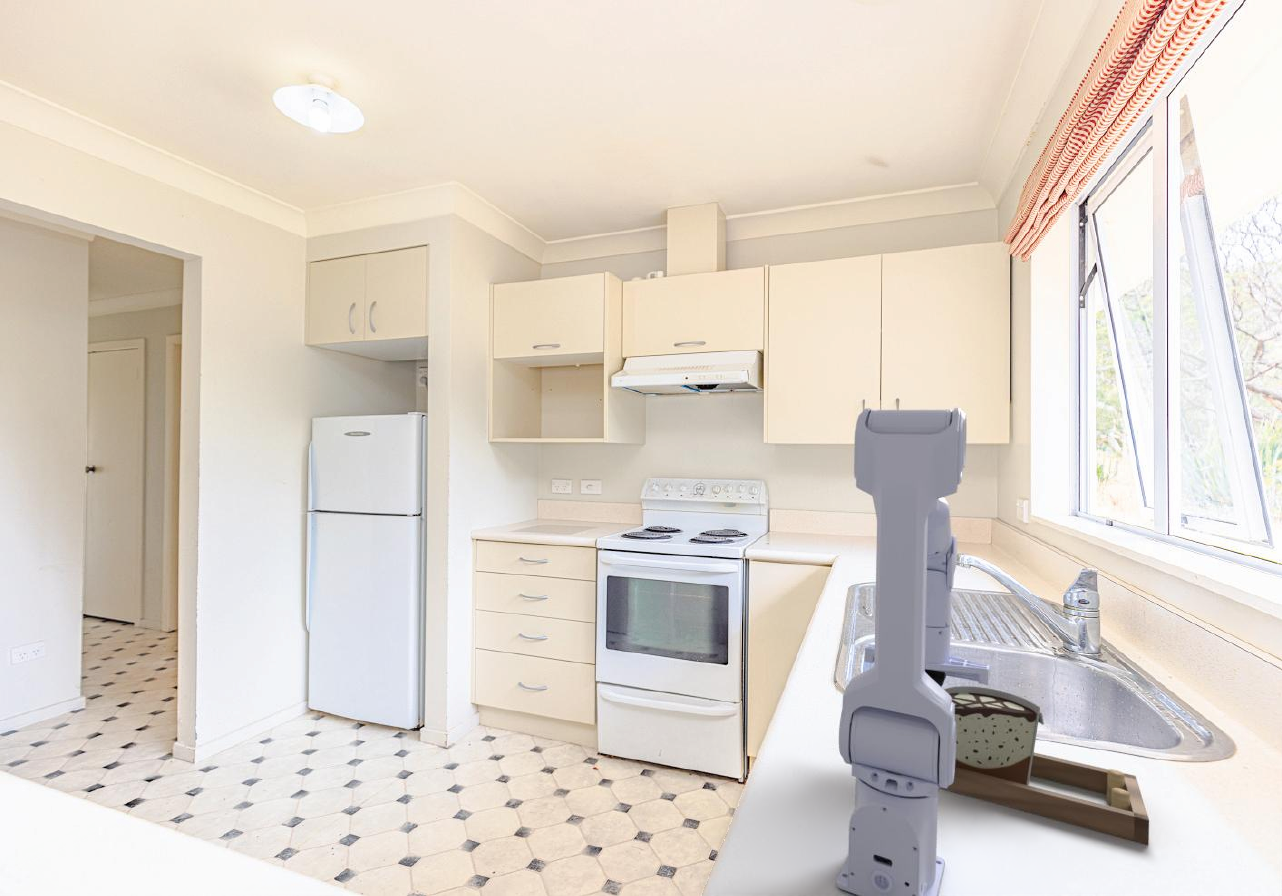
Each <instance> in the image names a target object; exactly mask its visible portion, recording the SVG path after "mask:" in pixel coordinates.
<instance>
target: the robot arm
mask: <svg viewBox="0 0 1282 896" xmlns="http://www.w3.org/2000/svg"><path fill="white" fill-rule="evenodd" d="M855 424H856V425H855V431H854V453H853V455H854V456H853V457H854V459H853V460H854V462H853V465H854V466H853V473H854V474H853V475H854V478H855V486H856V489H858V490H861V491H862V492H865V494H868V495H869V496H871V497H872V501H873V505H874V511H875V515H876V516H875V517H876V551H875V552H876V559H875V566H876V567H875V609H874V610H875V611H874V612H875V613H874V614H875V615H874V644H870V643H867V645H866V646H865V647H864V660H863V661H864V662H865V663H870V664H873V663H874V666H872V667H870V668H868V669H866V670H865V671H863V672H861V673H859V674H857V675H856V676H854V677H853V678H851V679H850V680H849V682H848V684H847V685H846V688H845V690H844V691H843V694H842V707H841V708H842V709H841V714H840V717H839V718H840V720H839V725H838V726H839V728H838V751H839V754H840V756H841V758H842V759H843V761H844V763H845V764H848V765H851V775H850V776H852V777H854V778H855V788H854V789H855V793H854V794H855V795H854V799H855V800H854V809H853V812H852V814H851V816H850V819H849V825H848V849H847V851H848V854H847V858H846V860H845V862H844V864H843V866H842V869H840V872H839V875H838V876H837V879H836V887H838V889H841V890H843V891H846V892H849V893H851V894H854V895H856V896H939V893H940V888H941V884H942V879H943V875H944V871H945V867H946V860H945V859H944V858H942V857H940V856H939V855H937V848H938V847H937V845H938V841H937V840H938V837H937V836H938V811H939V810H938V808H939V806H938V805H939V804H938V803H939V789H942V788H945V789H946V788H948V786H950V785H951V784H952V783H953V781H954V773H955V758H956V722H955V704H954V703H953V702H952V697H951V696H950V695H949V694H948V693H947V692H946V691H945V690H944V689H945V688H943V685H944V683H945V680H946V678H947V677H952V678H957V679H958V678H959V679H963V680H967V681H968V680H969V681H973V682H977V683H978V684H981V685H986V686H989V684H990V669H991V668H990V667H991V666H990V664H985V663H980V662H975V661H972V660H968V659H964V658H961V657H957V656H953V655H951V626H952V625H951V623H952V621H951V620H952V589H953V587H954V579H955V572H956V569H957V560H958V537H957V535H956V533H954V535H953V533H952V522H951V508H950V505H949V503H948V501H947V500H946V499H945V497H948V496H951V495H954V494H957V493H958V487H959V485H960V484H961V483H962V479H963V473H964V469H965V468H966V460H967V459H966V457H967V454H966V453H967V414H966V413H965V412H964V410H962V408H960V407H954V408H953V409H872V408H870V407H869V408H864V409H863V410H862V411H861V412H860V413H859V415H858V417H857V420H856V423H855ZM939 786H940V787H941V788H939ZM945 789H944V790H945Z"/></svg>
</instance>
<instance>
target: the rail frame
mask: <svg viewBox="0 0 1282 896" xmlns="http://www.w3.org/2000/svg"><path fill="white" fill-rule="evenodd" d="M1030 776H1033V777H1035V778H1036V777H1037V778H1041V779H1046V780H1049V781H1053V782H1058V783H1061V784H1065V785H1069V786H1073V787H1078V788H1082V789H1085V790H1089V791H1094V792H1097V793H1103V794H1106V803H1108V804H1109V805H1106V804H1102V803H1099V802H1094V801H1091V800H1086V799H1083V798H1079V797H1075V796H1071V795H1066V794H1063V793H1060V792H1055V791H1051V790H1047V789H1043V788H1039V787H1035V786H1031V785H1029V786H1028V785H1024V784H1020V783H1016V782H1012V781H1008V780H1005V779H1001V778H997V777H993V776H989V775H985V774H981V773H977V772H973V771H969V770H965V769H961V768H957V767H955V773H954V781H953V783H952V784H951V785H950V786H948V788H946V789H945V788H941V787H940V786H939V789H942V790H946V791H948V792H949V791H950V792H953V793H957V794H961V795H965V796H967V797H972V798H974V799H975V798H976V799H979V800H982V801H986V802H989V803H994V804H998V805H1002V806H1005V807H1008V808H1012V809H1014V810H1015V809H1016V810H1020V811H1024V812H1026V813H1030V814H1034V815H1037V816H1041V817H1045V818H1048V819H1052V820H1056V821H1060V822H1064V823H1067V824H1071V825H1074V826H1079V827H1081V828H1085V829H1089V830H1093V831H1096V832H1099V833H1104V834H1107V835H1111V836H1115V837H1118V838H1122V839H1126V840H1129V841H1133V842H1136V843H1140V844H1144V845H1147V846H1148V845H1150V844H1149V838H1150V837H1149V836H1150V819H1149V815H1148V811H1147V809H1146V807H1145V806H1146V805H1145V801H1144V799H1143V797H1142V793H1141V790H1140V786H1139V783H1138V779H1137V776H1136V775H1133V774H1130V773H1129V774H1128V773H1124V772H1122V771H1120V770H1117V769H1111V768H1110V769H1107V768H1103V767H1099V766H1094V765H1090V764H1086V763H1081V762H1077V761H1074V760H1073V761H1072V760H1068V759H1065V758H1064V759H1063V758H1059V757H1054V756H1051V755H1046V754H1041V753H1039V752H1034V754H1033V760H1032V767H1031V773H1030ZM1110 805H1111V806H1110Z"/></svg>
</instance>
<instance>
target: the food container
mask: <svg viewBox="0 0 1282 896" xmlns="http://www.w3.org/2000/svg"><path fill="white" fill-rule="evenodd" d="M943 689H944V690H945V691H946V692H947V693H948V694H949V695H950V696H951V697H952V702H953V703H954V704H955V722H956V758H955V767H957V768H961V769H965V770H969V771H973V772H977V773H981V774H985V775H989V776H993V777H997V778H1001V779H1005V780H1008V781H1012V782H1016V783H1020V784H1024V785H1028V786H1030V778H1031V775H1030V773H1031V767H1032V760H1033V754H1034V753H1035V747H1036V740H1037V733H1038V732H1037V731H1038V727H1039V724H1041V725H1044V724H1045V723H1044V717H1043V712H1042V711H1041V707H1040V706H1039V705H1038V704H1036V703H1034V702H1032V701H1030V700H1028V699H1026V698H1024V697H1021V696H1019V695H1015V694H1013V693H1010V692H1006V691H1002V690H998V689H994V688H989V687H982V686H972V685H971V686H970V685H959V686H958V685H957V686H950V687H946V688H943Z"/></svg>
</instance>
